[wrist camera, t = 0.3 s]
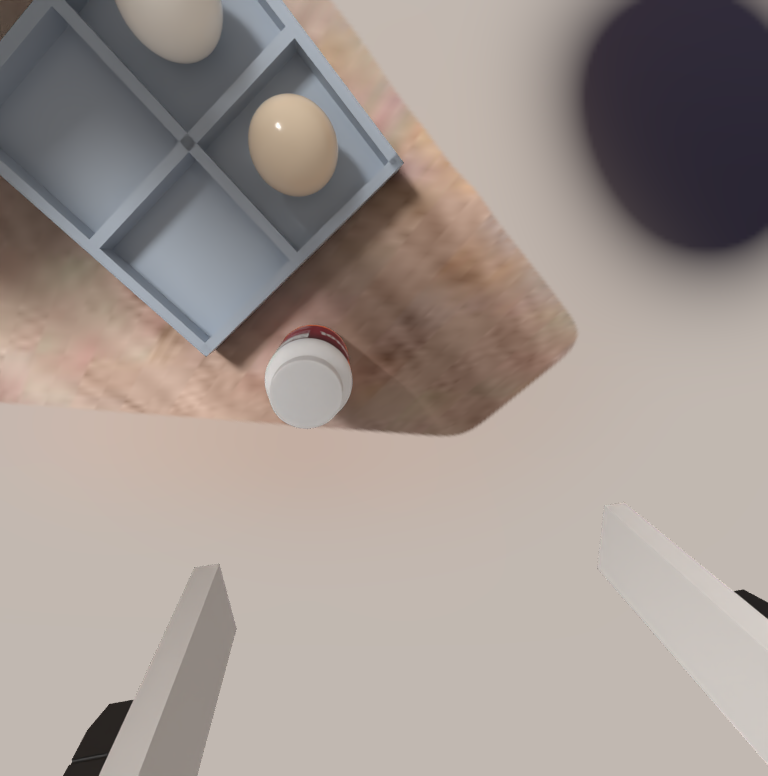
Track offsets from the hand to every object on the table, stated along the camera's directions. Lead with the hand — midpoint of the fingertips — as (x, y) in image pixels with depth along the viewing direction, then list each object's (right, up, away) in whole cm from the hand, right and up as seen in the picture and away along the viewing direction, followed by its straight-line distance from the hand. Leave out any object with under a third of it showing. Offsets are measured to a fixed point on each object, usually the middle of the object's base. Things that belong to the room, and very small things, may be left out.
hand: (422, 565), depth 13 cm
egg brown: (-8, +23, +16) cm, 30 cm away
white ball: (-15, +30, +13) cm, 36 cm away
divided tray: (-15, +24, +16) cm, 32 cm away
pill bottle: (-8, +9, +22) cm, 25 cm away
